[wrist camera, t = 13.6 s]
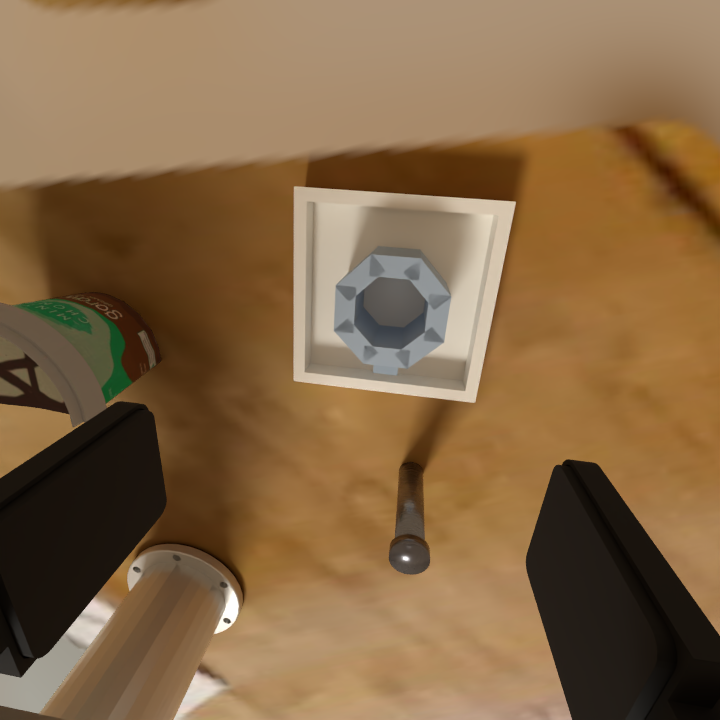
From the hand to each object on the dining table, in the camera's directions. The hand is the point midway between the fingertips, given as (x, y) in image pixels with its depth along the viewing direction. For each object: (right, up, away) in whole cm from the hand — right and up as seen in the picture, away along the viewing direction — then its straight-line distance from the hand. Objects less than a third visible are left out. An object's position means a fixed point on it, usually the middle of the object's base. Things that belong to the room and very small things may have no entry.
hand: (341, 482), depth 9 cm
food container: (-20, +6, +22) cm, 31 cm away
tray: (+3, +8, +18) cm, 20 cm away
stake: (+5, -7, +24) cm, 25 cm away
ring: (+3, +7, +18) cm, 19 cm away
